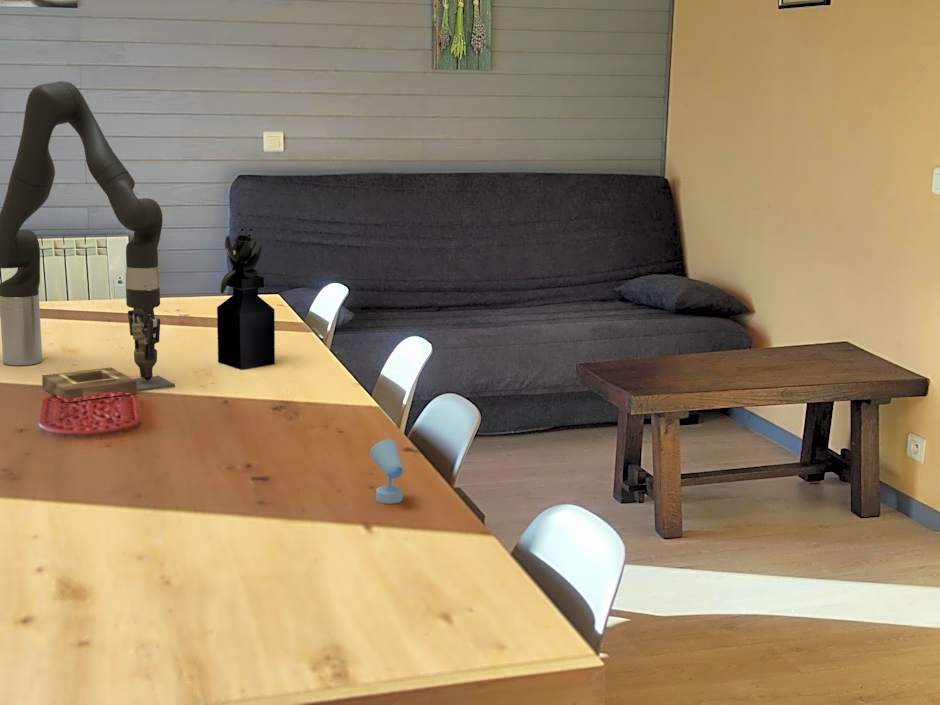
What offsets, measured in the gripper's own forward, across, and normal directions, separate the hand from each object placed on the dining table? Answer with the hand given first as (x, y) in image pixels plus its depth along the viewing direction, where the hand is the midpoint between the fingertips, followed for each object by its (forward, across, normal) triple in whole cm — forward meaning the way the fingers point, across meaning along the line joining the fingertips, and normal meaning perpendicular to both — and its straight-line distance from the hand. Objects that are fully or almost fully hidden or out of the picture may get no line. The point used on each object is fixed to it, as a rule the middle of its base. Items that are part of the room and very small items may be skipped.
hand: (145, 357), depth 255 cm
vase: (+7, -9, +30) cm, 32 cm away
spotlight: (+7, +96, +4) cm, 96 cm away
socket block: (+7, -1, -13) cm, 15 cm away
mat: (+7, 0, 0) cm, 7 cm away
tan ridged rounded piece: (+6, 0, 0) cm, 6 cm away
